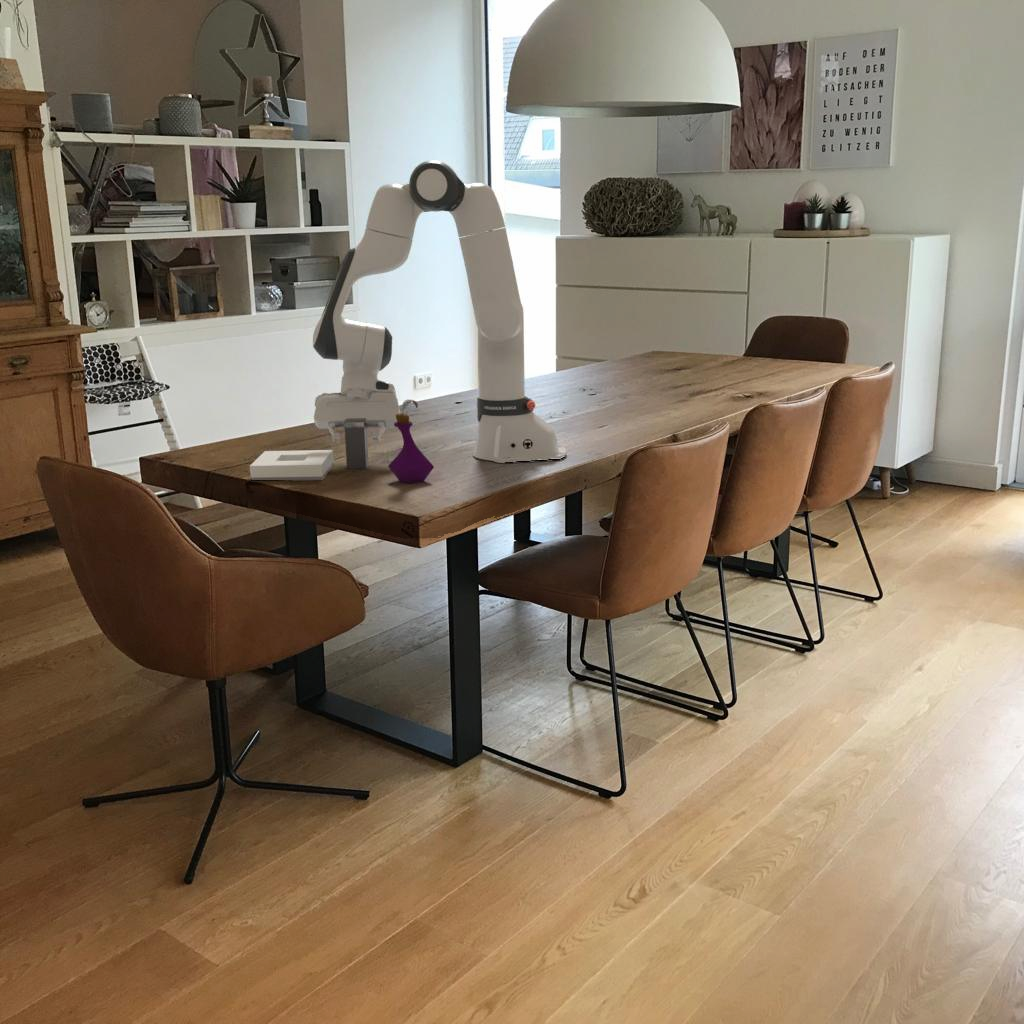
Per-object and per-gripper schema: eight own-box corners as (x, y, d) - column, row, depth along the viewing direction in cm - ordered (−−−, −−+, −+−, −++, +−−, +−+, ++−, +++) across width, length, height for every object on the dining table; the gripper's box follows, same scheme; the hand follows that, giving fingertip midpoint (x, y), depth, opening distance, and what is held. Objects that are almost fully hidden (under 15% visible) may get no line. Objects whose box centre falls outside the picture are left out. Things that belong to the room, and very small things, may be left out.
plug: (368, 463, 270) (366, 417, 267) (366, 467, 266) (363, 421, 263) (349, 464, 270) (347, 418, 267) (346, 468, 266) (344, 421, 263)
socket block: (333, 464, 270) (332, 449, 269) (322, 480, 254) (321, 464, 253) (265, 465, 270) (264, 451, 269) (250, 481, 254) (249, 465, 253)
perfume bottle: (405, 486, 247) (402, 404, 242) (388, 480, 253) (384, 399, 248) (434, 481, 251) (432, 400, 247) (417, 475, 257) (414, 396, 253)
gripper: (313, 385, 270) (309, 434, 263) (400, 384, 270) (397, 432, 263) (317, 401, 275) (313, 449, 268) (402, 399, 275) (400, 447, 268)
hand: (355, 441), depth 266 cm, fingers open, 8 cm apart
